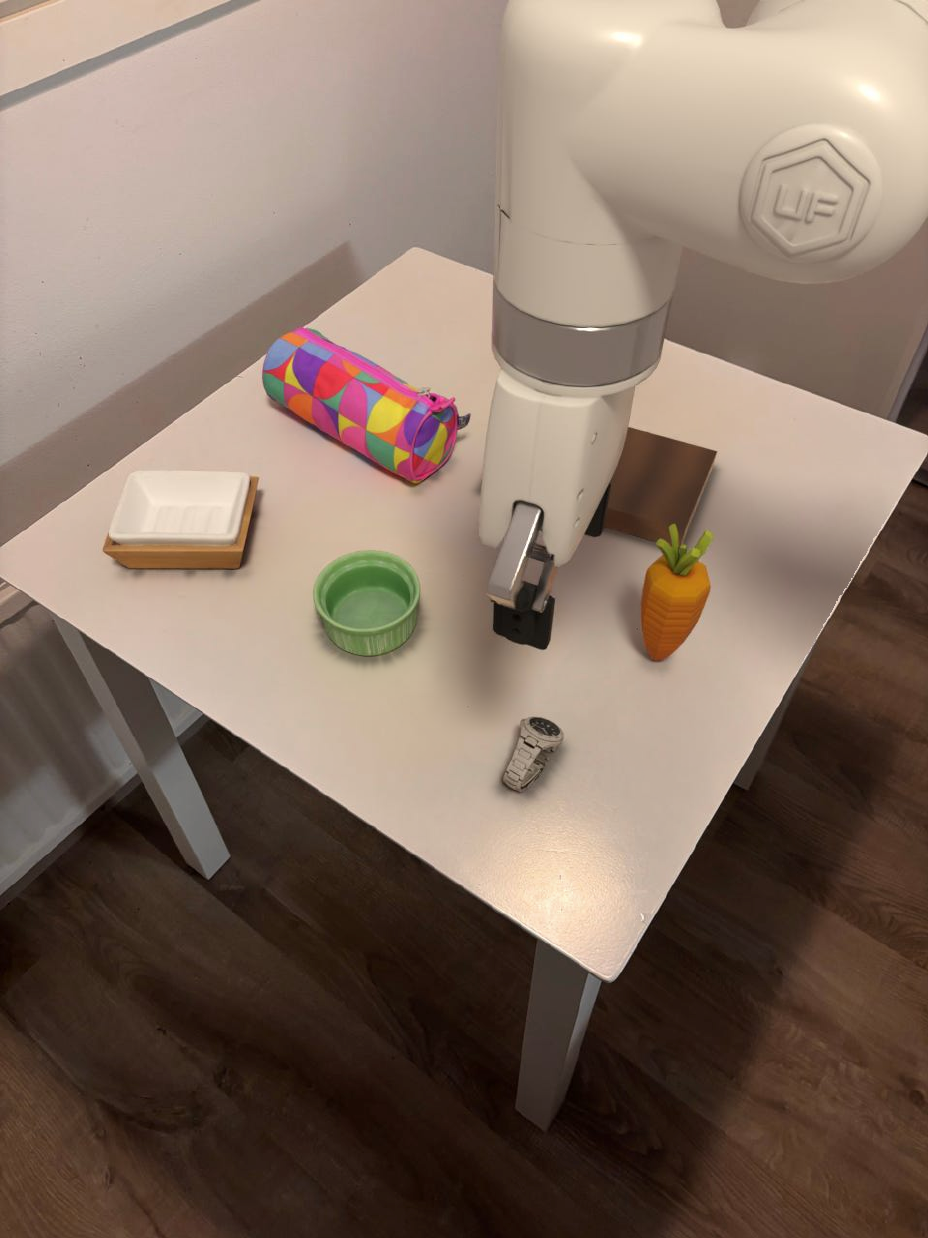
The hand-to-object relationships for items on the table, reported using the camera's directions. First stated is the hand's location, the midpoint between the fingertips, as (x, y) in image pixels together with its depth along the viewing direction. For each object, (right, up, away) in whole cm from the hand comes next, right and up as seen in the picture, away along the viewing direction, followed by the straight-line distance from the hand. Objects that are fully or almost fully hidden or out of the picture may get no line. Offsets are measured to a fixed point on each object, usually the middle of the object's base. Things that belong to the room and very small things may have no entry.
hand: (550, 580), depth 52 cm
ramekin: (-13, -3, +27) cm, 30 cm away
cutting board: (+8, +12, +38) cm, 40 cm away
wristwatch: (0, -14, +17) cm, 22 cm away
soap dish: (-31, +5, +33) cm, 45 cm away
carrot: (+11, -6, +24) cm, 27 cm away
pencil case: (-15, +17, +42) cm, 48 cm away
